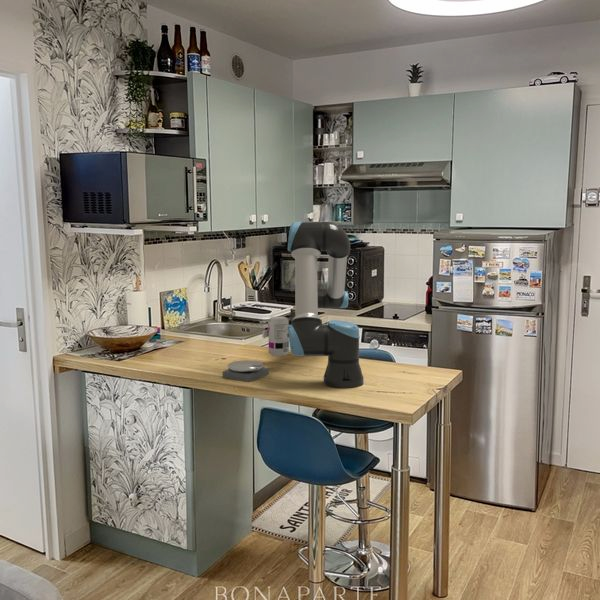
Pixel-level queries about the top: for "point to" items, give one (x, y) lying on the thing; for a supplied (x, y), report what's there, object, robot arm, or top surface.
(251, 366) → the scale plate
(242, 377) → the scale frame
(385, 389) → the top surface
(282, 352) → the supplement can
